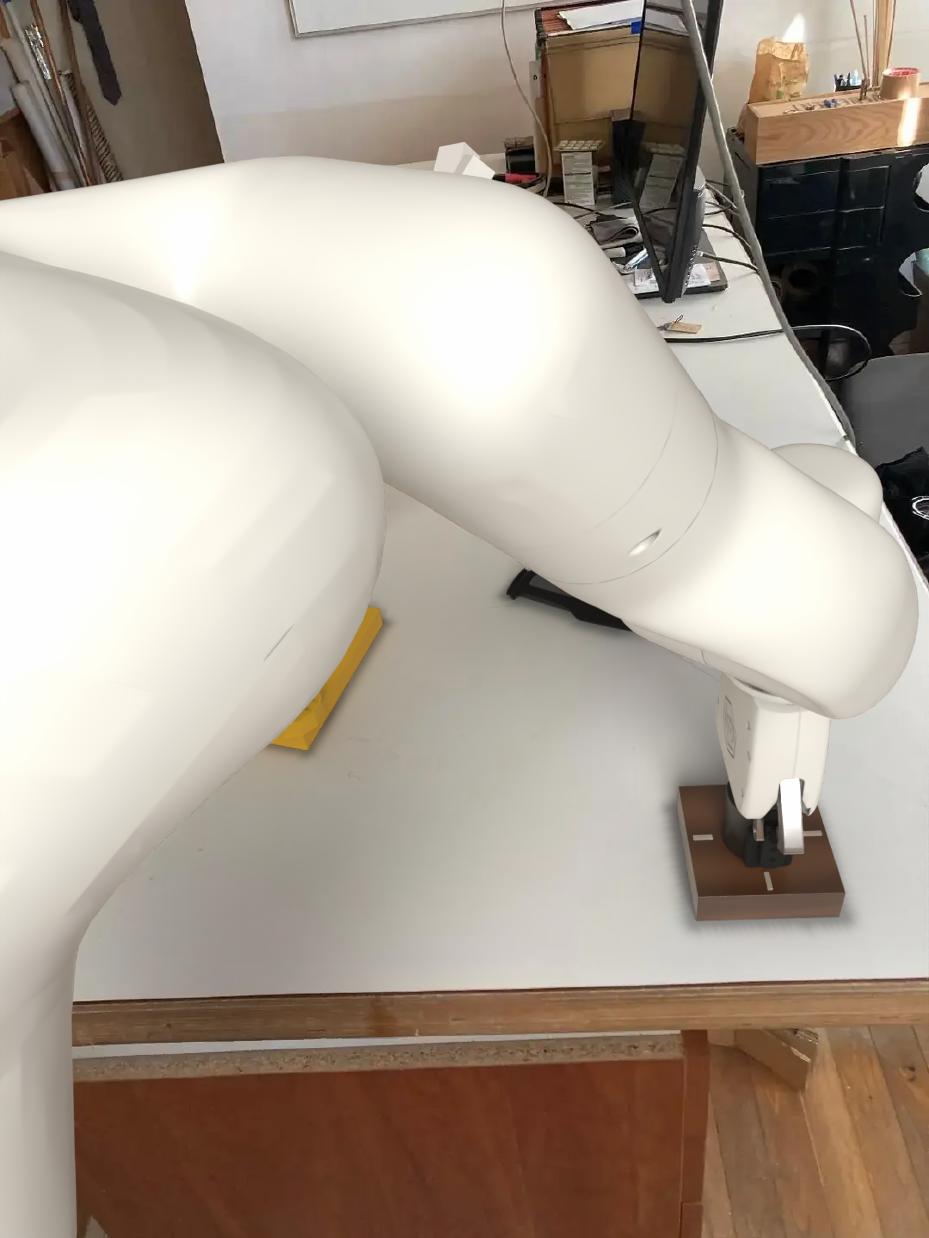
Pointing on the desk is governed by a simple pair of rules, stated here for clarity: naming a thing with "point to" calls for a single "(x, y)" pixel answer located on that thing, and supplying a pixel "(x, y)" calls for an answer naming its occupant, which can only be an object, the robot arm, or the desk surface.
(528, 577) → the electric trimmer
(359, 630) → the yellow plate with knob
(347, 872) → the desk surface
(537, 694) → the desk surface
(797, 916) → the dial panel
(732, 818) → the dial knob
